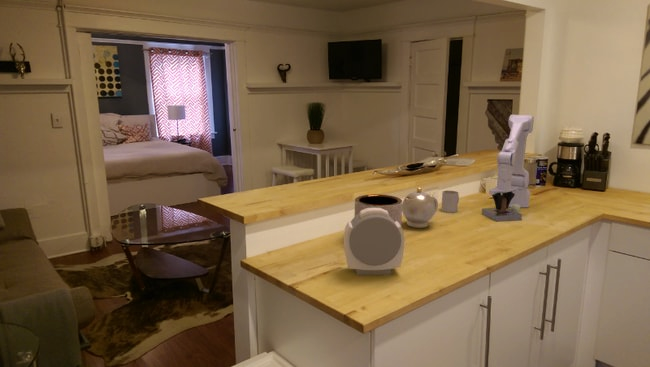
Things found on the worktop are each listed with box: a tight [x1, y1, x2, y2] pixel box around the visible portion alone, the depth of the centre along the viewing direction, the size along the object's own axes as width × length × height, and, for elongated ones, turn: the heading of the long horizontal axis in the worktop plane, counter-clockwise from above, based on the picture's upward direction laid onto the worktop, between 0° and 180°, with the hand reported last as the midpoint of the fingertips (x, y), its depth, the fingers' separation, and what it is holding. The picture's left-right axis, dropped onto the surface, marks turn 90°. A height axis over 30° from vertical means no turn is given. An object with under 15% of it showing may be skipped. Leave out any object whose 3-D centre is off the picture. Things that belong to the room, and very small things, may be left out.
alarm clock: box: [343, 208, 406, 276], centre depth 136 cm, size 18×8×20 cm, turn 92°
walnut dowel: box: [497, 198, 507, 213], centre depth 196 cm, size 4×4×8 cm
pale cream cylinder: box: [510, 204, 521, 214], centre depth 201 cm, size 4×4×4 cm
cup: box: [441, 190, 460, 214], centre depth 206 cm, size 7×10×9 cm
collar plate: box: [481, 207, 523, 222], centre depth 196 cm, size 12×12×2 cm
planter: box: [353, 193, 403, 228], centre depth 165 cm, size 18×18×16 cm
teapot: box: [402, 186, 439, 229], centre depth 183 cm, size 18×14×16 cm
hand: (501, 208), depth 196 cm, fingers closed on walnut dowel, 4 cm apart
